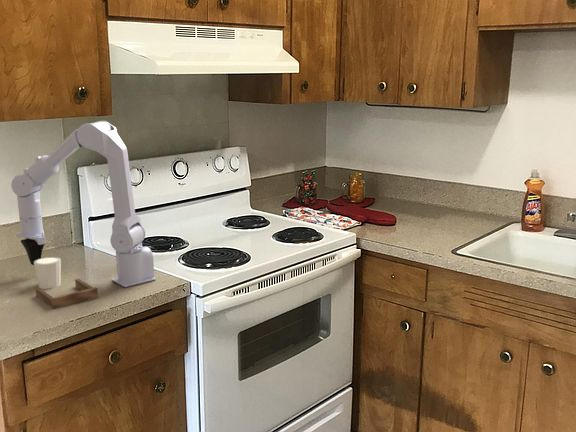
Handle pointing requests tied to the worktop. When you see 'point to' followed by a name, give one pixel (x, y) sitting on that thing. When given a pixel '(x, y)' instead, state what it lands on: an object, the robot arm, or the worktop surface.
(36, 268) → the white cylinder
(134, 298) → the worktop surface
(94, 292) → the walnut bay
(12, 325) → the worktop surface
